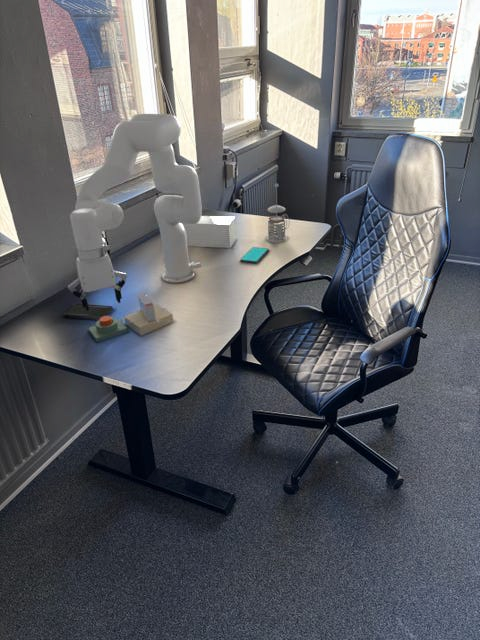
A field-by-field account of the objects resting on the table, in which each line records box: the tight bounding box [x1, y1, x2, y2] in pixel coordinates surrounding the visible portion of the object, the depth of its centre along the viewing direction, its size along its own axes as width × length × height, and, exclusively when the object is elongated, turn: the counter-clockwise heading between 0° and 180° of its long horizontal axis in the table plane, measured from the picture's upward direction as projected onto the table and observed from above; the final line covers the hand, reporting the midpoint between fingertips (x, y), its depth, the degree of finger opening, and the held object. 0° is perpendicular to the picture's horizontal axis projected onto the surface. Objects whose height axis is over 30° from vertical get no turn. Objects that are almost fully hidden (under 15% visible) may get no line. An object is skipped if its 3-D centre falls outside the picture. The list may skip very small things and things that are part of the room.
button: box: [100, 315, 113, 326], centre depth 144 cm, size 4×4×2 cm
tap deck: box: [123, 303, 174, 337], centre depth 149 cm, size 13×13×3 cm
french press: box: [265, 183, 290, 244], centre depth 206 cm, size 10×12×25 cm
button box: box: [87, 316, 128, 343], centre depth 146 cm, size 10×8×4 cm
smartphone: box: [240, 246, 270, 264], centre depth 195 cm, size 7×1×15 cm
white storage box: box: [182, 215, 237, 249], centre depth 210 cm, size 32×11×11 cm, turn 76°
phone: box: [63, 303, 114, 321], centre depth 157 cm, size 8×1×15 cm
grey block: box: [137, 293, 156, 322], centre depth 147 cm, size 9×3×6 cm, turn 26°
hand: (103, 305), depth 142 cm, fingers open, 9 cm apart
